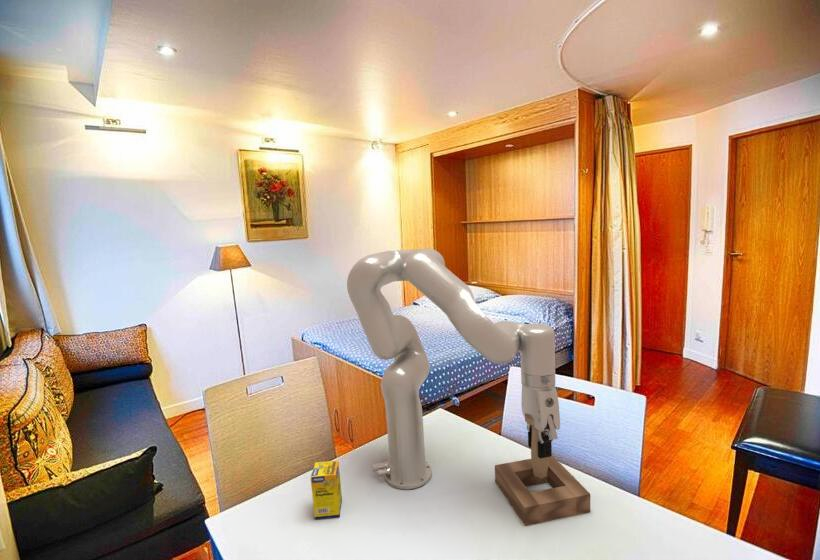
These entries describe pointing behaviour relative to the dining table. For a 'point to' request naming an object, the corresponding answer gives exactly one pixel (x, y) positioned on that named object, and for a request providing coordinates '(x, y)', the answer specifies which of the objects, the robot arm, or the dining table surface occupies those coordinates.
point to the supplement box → (326, 490)
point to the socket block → (541, 492)
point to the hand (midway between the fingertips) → (539, 450)
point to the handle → (537, 463)
